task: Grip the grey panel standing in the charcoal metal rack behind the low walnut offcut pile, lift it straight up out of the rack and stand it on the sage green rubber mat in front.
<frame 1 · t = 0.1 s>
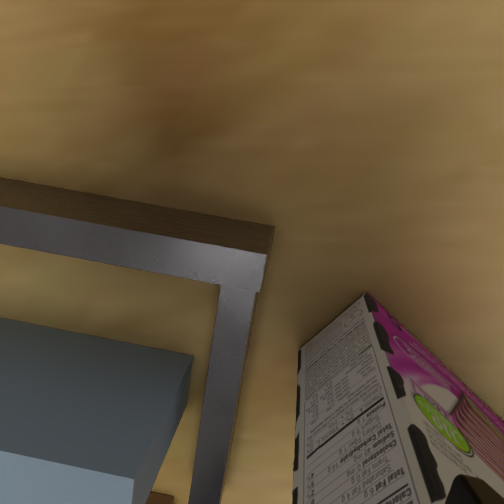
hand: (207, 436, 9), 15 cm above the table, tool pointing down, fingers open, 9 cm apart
rack: (80, 359, 25), on the table
grey panel: (80, 358, 26), on the table
candy bar box: (407, 386, 24), on the table
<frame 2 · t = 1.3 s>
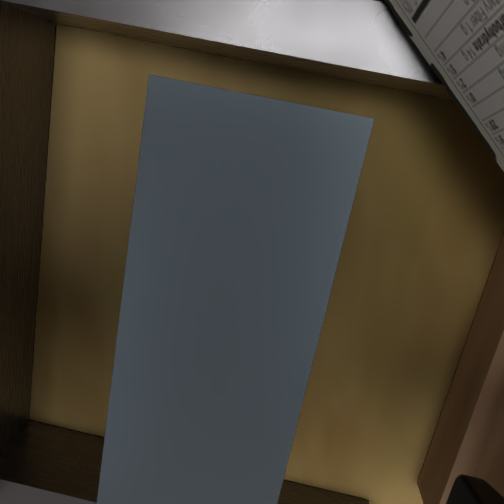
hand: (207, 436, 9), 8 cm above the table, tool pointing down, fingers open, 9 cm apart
rack: (249, 290, 16), on the table
grey panel: (249, 289, 17), on the table
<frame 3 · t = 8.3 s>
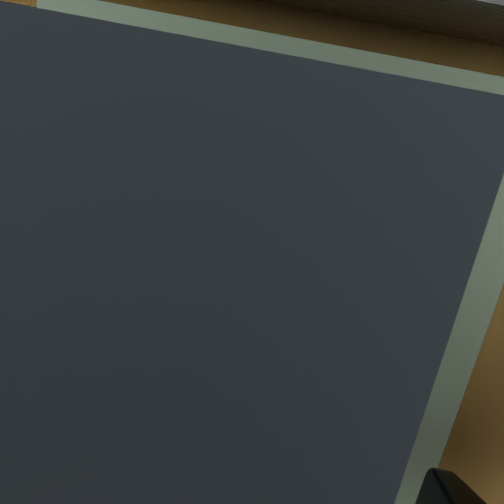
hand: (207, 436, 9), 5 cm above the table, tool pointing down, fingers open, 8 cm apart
mat: (240, 329, 13), on the table
grey panel: (238, 340, 13), point 1 cm above the table, touching mat
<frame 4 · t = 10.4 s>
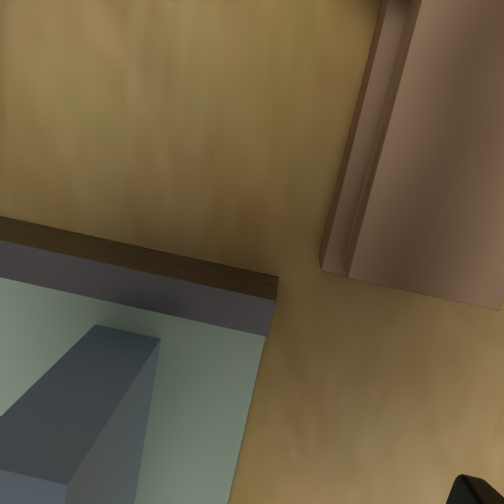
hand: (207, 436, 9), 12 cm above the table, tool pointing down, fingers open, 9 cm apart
offcut pile: (429, 129, 19), on the table
mat: (117, 435, 23), on the table
rack: (169, 75, 19), on the table
grey panel: (112, 445, 23), point 1 cm above the table, touching mat
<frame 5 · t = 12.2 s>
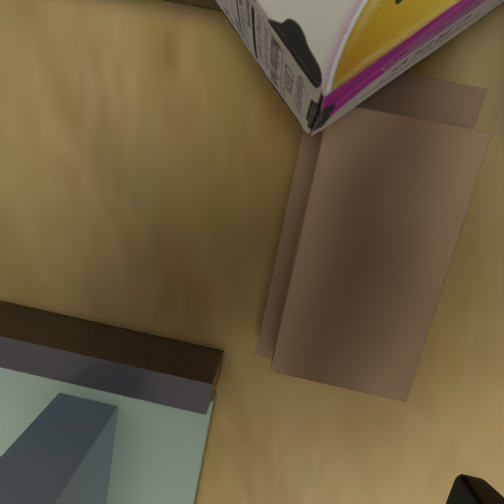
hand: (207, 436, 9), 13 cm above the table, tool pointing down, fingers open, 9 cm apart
offcut pile: (354, 224, 20), on the table
mat: (84, 487, 26), on the table
rack: (118, 175, 21), on the table
grey panel: (78, 498, 25), point 1 cm above the table, touching mat
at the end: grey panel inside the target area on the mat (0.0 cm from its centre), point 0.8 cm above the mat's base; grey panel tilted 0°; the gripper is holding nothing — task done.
